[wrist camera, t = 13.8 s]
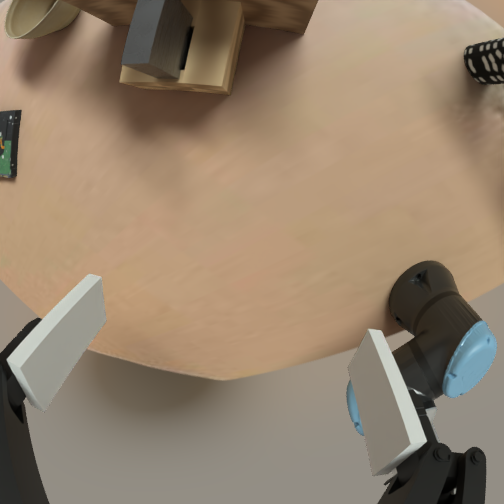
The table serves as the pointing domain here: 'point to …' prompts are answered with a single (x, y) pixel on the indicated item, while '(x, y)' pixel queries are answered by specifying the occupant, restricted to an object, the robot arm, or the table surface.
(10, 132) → the disk drive
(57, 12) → the planter bowl
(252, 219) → the table surface
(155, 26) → the grey slab
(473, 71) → the spotted tube
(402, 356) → the robot arm
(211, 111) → the table surface
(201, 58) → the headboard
